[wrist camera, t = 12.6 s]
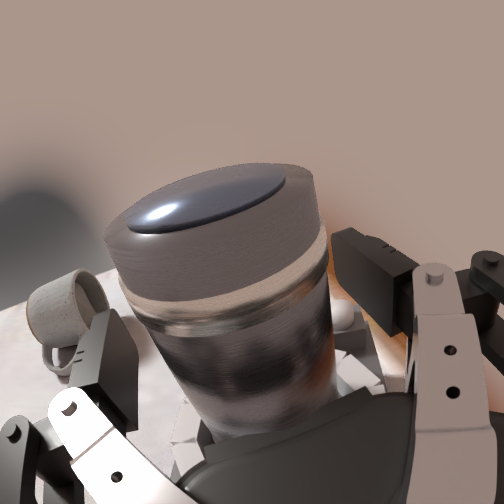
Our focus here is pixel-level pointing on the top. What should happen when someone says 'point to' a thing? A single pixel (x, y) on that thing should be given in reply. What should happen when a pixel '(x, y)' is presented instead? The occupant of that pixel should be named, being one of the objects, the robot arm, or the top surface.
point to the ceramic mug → (64, 313)
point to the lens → (234, 293)
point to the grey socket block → (348, 380)
